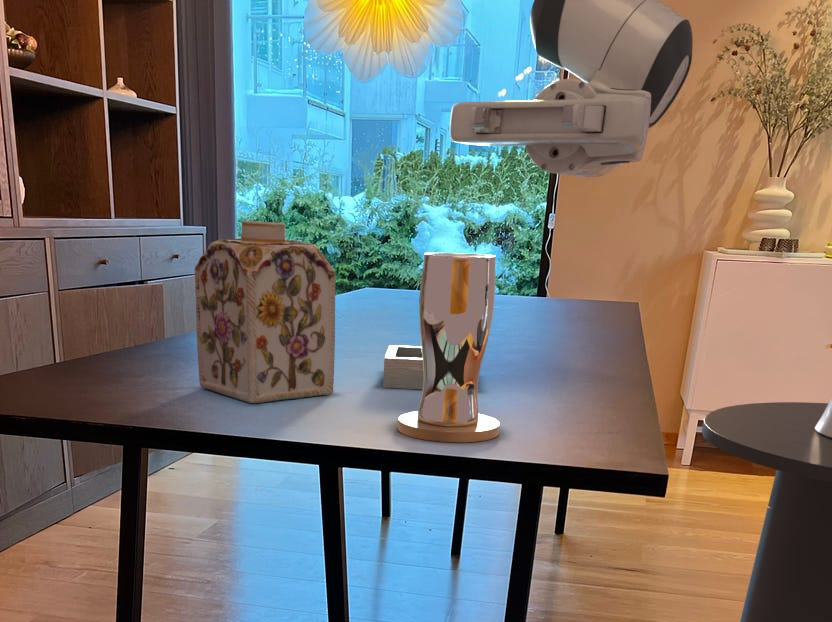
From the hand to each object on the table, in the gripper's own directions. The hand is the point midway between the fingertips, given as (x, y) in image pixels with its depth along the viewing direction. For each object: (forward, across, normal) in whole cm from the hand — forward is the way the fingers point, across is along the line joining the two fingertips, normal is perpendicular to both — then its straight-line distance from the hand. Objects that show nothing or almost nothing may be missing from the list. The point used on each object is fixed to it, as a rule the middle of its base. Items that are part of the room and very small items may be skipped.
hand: (522, 116), depth 86 cm
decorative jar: (+6, -26, +28) cm, 39 cm away
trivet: (+12, 0, +28) cm, 31 cm away
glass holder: (-12, -13, +28) cm, 33 cm away
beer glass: (+12, 0, +27) cm, 30 cm away
